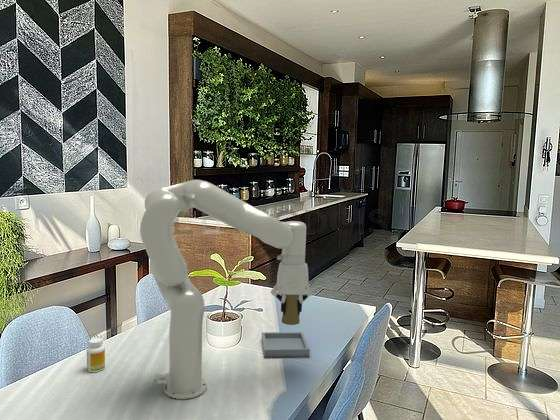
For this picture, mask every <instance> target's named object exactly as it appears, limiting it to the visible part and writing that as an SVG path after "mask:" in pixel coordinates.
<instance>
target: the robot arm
mask: <svg viewBox="0 0 560 420" xmlns="http://www.w3.org/2000/svg"><path fill="white" fill-rule="evenodd" d="M144 208H145V211H144V213H143V215H142V218H141V220H140V226H139V228H140V229H139V230H140V231H139V234H140V238H141V241H142V244H143V247H144V249H145V252H146V253H147V256H148V259H149V269H150V272H151V274H152V277H153V279H154V281H155V284H156V285H157V287H158V289H159V292H160V293H161V296H162V298H163V300H164V301H165V303H166V304H167V307H168V308H169V310H170V319H169V320H170V321H169V328H168V329H169V331H168V332H169V333H168V334H169V335H168V338H169V339H168V342H169V344H168V347H169V349H168V350H169V353H168V354H169V357H168V358H169V359H168V360H169V362H168V363H169V366H168V367H169V369H168V373H165V374H155V375H153V377H154V378H153V381H154V382H156V385H157V386H159V385H160V386H161V385H163V392H164V394H165V395H166V396H168V397H169V398H171V397H172V399H175V398H176V399H177V400H188V399H193V398H196V397H199V396H201V395H202V394H203V393H205V391H206V390H207V387H208V383H207V381H206V380H205V379H204V378H203V376H202V375H203V373H202V372H203V369H202V368H203V367H202V366H203V323H204V314H205V307H206V306H205V305H206V304H205V299H204V296H203V295H202V292H201V291H200V290H199V289H198V288H197V287H196V286H195V285H194V284H193V283H192V281H191V279H190V278H189V276H188V272H189V270H188V265H187V264H188V263H187V262H186V259H185V258H184V256H183V254H182V253H181V252H182V251H181V250H180V248H179V245H178V243H177V241H176V238H175V236H174V233H173V225H174V222H175V220H176V218H177V217H178V215H179V214H180V213H181V212H184V211H187V210H190V209H193V208H195V209H196V210H198V211H200V212H202V213H204V214H206V215H209V216H210V217H212V218H214V219H216V220H217V221H220V222H221V223H224V224H225V225H227V226H229V227H231V228H232V229H236V230H237V231H241V232H244V233H246V234H249V235H250V236H251V235H252V236H253V237H255V238H257V239H259V240H260V241H261V242H263V243H265V245H266V244H267V245H269V246H271V247H274V248H277V249H281V254H279V255H277V257H276V259H277V260H278V261H281V262H279V265H278V269H277V276H276V277H277V278H276V283H275V285H274V286H273V287H272V289H271V291H270V294H271V296H274V297H276V298H277V300H278V301H280V313H282V316H283V315H285V311H286V303H285V299H286V295H299V299H298V315H299V316H300V315H301V314H300V313H302V312H303V311H302V308H303V303H304V302H305V301H306V299H308V298H309V297H311V296H312V295H313V294H314V292H313V290H312V289H311V287H310V285H309V267H308V263H306V244H307V242H306V241H307V224H306V223H304V222H302V221H299V220H297V221H296V220H289V221H280V220H278V219H277V218H274V217H273V216H271V215H269V214H267V213H265V212H263V211H261V210H260V209H258V208H256V207H255V206H253V205H251V204H249V203H247V202H246V201H244V200H242V199H239V198H238V197H236V196H234V195H232V194H231V193H229V192H227V191H226V190H224V189H222V188H220V187H218V186H217V185H215V184H213V183H211V182H210V181H209V182H208V181H206V180H202V179H191V180H188V181H183V182H180V183H177V184H172V185H169V186H164V187H160V188H156V189H153V190H151V191H150V192H149V193H148V194H147V195H146V197H145V199H144ZM176 399H175V400H176Z"/></svg>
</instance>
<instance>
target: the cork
mask: <svg viewBox="0 0 560 420" xmlns="http://www.w3.org/2000/svg"><path fill="white" fill-rule="evenodd" d="M298 299H299V295H286V299H285V303H286V311H285V315H283V314H282V317H281V323H282V324H284V325H287V326H295V325H298V324H301V323H300V315H298Z"/></svg>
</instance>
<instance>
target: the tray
mask: <svg viewBox="0 0 560 420" xmlns="http://www.w3.org/2000/svg"><path fill="white" fill-rule="evenodd" d="M261 344H262V351H263V357H264V358H263V359H291V358H292V359H293V358H294V359H298V358H306V359H307V358H310V355H311V354H310V349H311V348H310V346H309V345H308V342H307V339H306V336H305V334H304V332H303V331H284V332H283V331H278V332H277V331H276V332H275V331H274V332H272V331H271V332H268V331H267V332H266V331H265V332H264V331H263V332H261Z"/></svg>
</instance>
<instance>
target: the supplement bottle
mask: <svg viewBox="0 0 560 420" xmlns="http://www.w3.org/2000/svg"><path fill="white" fill-rule="evenodd" d="M88 345H89V346H88V347H87V348H86V370H87V372H88V373H100V372H102V371H103V370H104V369H106V368H105V367H106V350H105V348H106V347H105V345H104V344H103V339H102V338H100V337H94V338H90V339H89V341H88ZM101 370H102V371H101Z"/></svg>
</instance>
